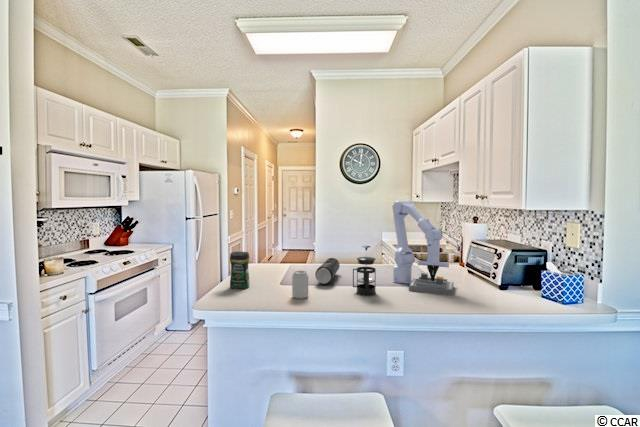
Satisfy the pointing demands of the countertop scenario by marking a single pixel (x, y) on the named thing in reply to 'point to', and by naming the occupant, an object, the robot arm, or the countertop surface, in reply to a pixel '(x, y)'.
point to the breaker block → (431, 285)
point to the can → (300, 284)
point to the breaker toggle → (439, 280)
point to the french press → (365, 276)
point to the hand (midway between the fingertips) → (432, 280)
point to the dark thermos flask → (327, 271)
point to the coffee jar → (239, 270)
